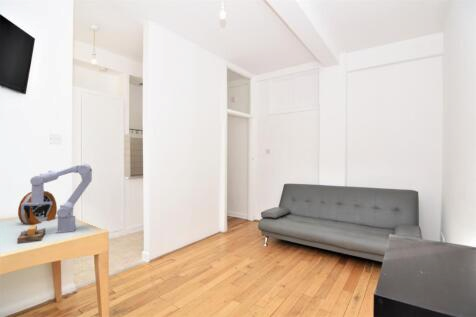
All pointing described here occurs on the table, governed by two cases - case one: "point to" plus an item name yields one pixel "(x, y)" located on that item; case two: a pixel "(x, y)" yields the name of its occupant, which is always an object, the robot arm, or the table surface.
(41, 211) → the alarm clock
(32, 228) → the orange upright block
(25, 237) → the shelf
